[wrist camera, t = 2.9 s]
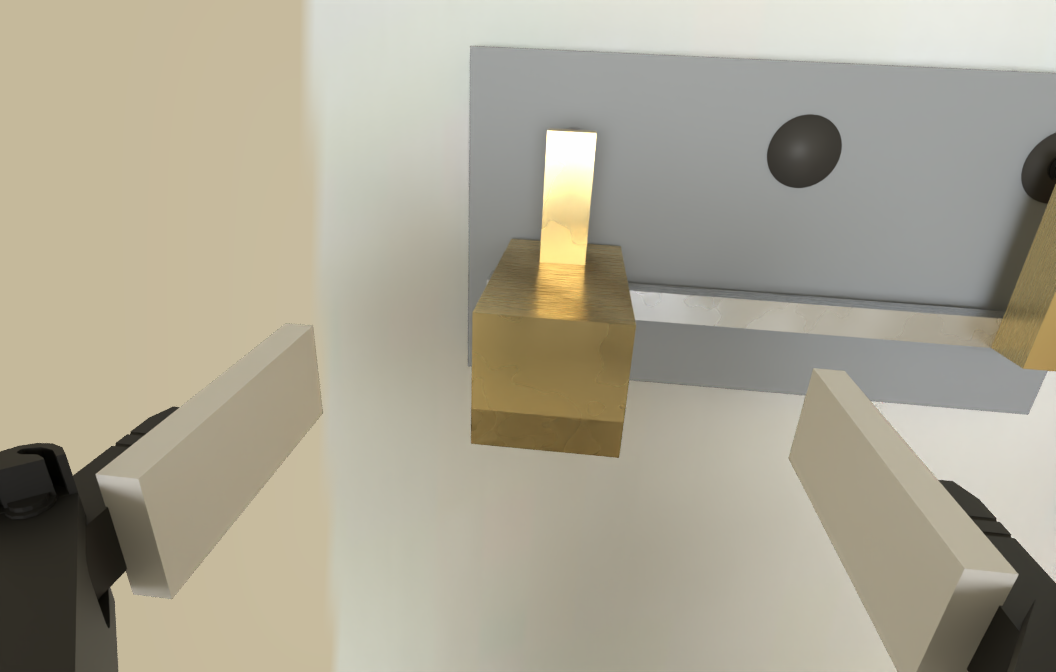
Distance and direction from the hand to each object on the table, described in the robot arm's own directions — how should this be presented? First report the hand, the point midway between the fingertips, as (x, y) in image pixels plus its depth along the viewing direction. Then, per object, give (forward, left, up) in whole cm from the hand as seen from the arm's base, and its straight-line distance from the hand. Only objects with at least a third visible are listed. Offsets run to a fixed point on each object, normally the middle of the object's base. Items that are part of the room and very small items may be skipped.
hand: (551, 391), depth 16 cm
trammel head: (+1, +2, -9) cm, 9 cm away
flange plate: (+8, -2, -11) cm, 14 cm away
